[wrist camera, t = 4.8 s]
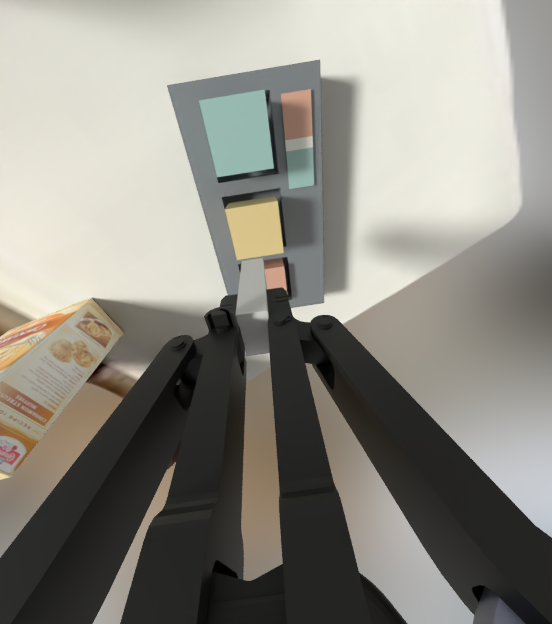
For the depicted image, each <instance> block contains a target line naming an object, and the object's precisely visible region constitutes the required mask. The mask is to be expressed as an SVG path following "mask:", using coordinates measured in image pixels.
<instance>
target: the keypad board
mask: <svg viewBox="0 0 552 624" xmlns="http://www.w3.org/2000/svg"><path fill="white" fill-rule="evenodd" d="M167 87H168V90H169V94H170V97H171V101H172V104H173V107H174V111H175V114H176V118H177V121H178V125H179V128H180V132H181V135H182V138H183V142H184V145H185V149H186V152H187V156H188V159H189V163H190V166H191V170H192V173H193V176H194V180H195V183H196V187H197V190H198V194H199V197H200V201H201V204H202V207H203V211H204V214H205V218H206V221H207V225H208V228H209V232H210V235H211V239H212V242H213V245H214V249H215V252H216V256H217V259H218V263H219V266H220V270H221V273H222V276H223V280H224V283H225V287H226V290H227V294H228V295H235V294H238V289H239V281H240V272H241V263H242V261H245V260H252V259H259V258H263V260H269V259H276V258H282V260H283V264H284V269H285V278H286V286H287V294H288V299H289V303H290V307H291V308H293V307H300V306H307V305H313V304H320V303H324V265H323V204H322V143H321V81H320V60H315V61H309V62H304V63H298V64H292V65H286V66H280V67H274V68H268V69H262V70H256V71H250V72H244V73H238V74H232V75H226V76H220V77H214V78H208V79H202V80H196V81H190V82H184V83H179V84H173V85H167ZM259 90H265V97H266V105H267V114H268V122H269V131H270V139H271V148H272V156H273V165H274V168H273V169H266V170H260V171H254V172H247V173H241V174H235V175H229V176H222V177H217V175H216V171H215V166H214V162H213V158H212V154H211V150H210V146H209V141H208V137H207V133H206V129H205V125H204V121H203V116H202V112H201V108H200V104H199V100H205V99H211V98H217V97H223V96H229V95H235V94H241V93H247V92H253V91H259ZM271 196H275V197H276V199H277V201H278V208H279V216H280V225H281V234H282V242H283V251H284V253H280V254H274V255H267V256H260V257H254V258H247V259H241V260H237V258H236V254H235V250H234V246H233V241H232V237H231V233H230V229H229V225H228V221H227V216H226V212H225V208H226V207H227V205H228V204H229V203H233V202H239V201H246V200H252V199H258V198H265V197H271Z"/></svg>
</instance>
